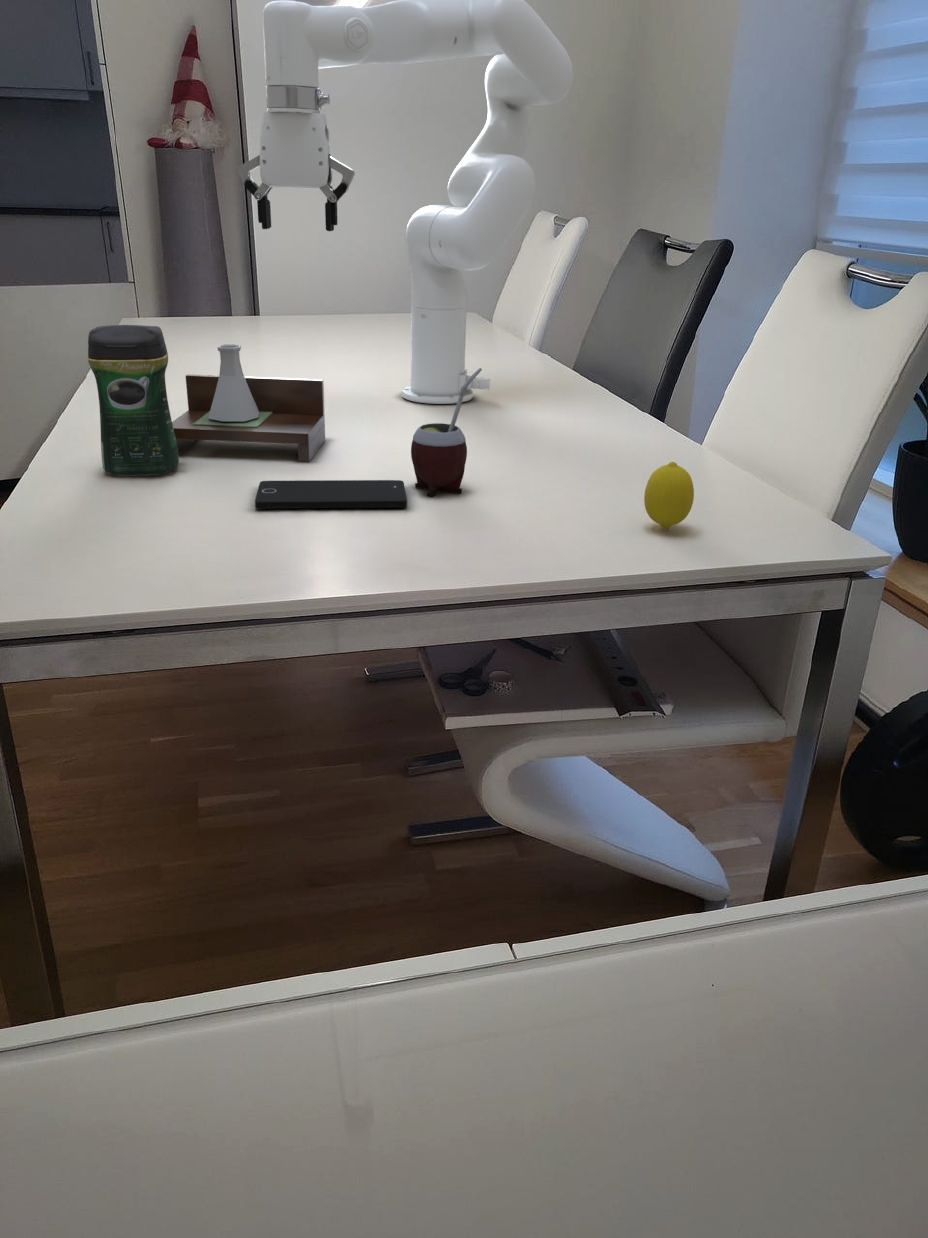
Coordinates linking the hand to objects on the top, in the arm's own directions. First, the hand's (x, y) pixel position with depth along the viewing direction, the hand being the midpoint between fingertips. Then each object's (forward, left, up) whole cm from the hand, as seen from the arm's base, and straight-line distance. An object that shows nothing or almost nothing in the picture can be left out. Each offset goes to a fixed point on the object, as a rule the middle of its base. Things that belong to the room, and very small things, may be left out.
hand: (298, 229), depth 152 cm
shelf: (+4, +21, -28) cm, 35 cm away
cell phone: (-12, +43, -28) cm, 53 cm away
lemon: (-52, +49, -28) cm, 77 cm away
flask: (+6, +21, -24) cm, 32 cm away
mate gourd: (-25, +37, -28) cm, 53 cm away
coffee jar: (+15, +34, -28) cm, 47 cm away
